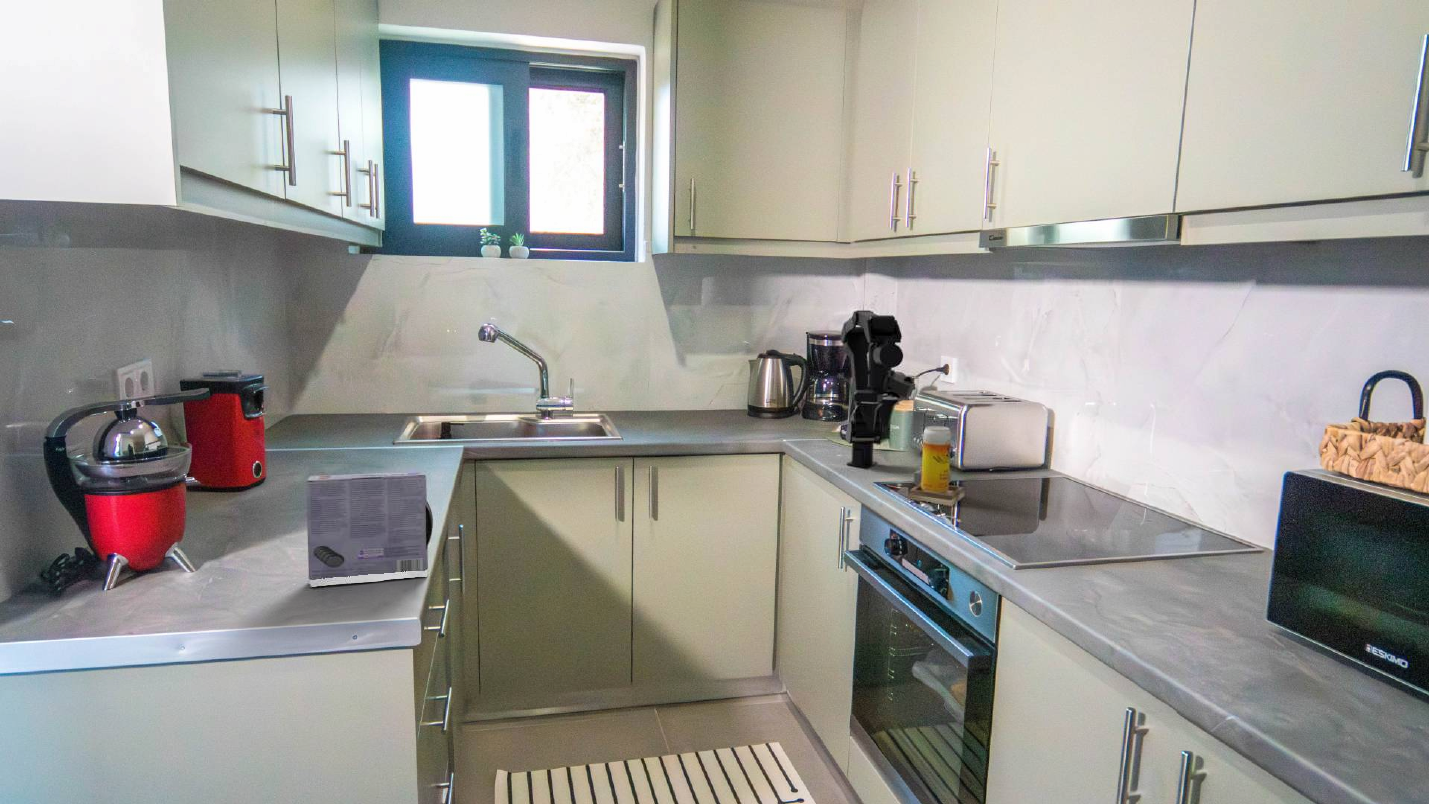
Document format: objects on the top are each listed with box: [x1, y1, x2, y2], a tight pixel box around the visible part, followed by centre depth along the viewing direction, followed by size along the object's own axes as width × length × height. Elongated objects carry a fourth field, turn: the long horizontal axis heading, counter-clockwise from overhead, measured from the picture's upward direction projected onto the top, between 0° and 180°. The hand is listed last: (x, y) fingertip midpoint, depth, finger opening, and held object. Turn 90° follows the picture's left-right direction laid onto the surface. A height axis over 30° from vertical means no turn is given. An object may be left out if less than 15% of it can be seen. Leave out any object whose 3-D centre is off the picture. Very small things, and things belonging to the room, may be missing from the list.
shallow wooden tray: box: [907, 483, 965, 507], centre depth 198 cm, size 10×10×2 cm
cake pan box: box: [306, 471, 434, 580], centre depth 142 cm, size 19×5×18 cm, turn 109°
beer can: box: [921, 425, 952, 494], centre depth 198 cm, size 6×6×15 cm
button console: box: [913, 468, 952, 486], centre depth 212 cm, size 7×7×3 cm
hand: (878, 428), depth 215 cm, fingers open, 9 cm apart
